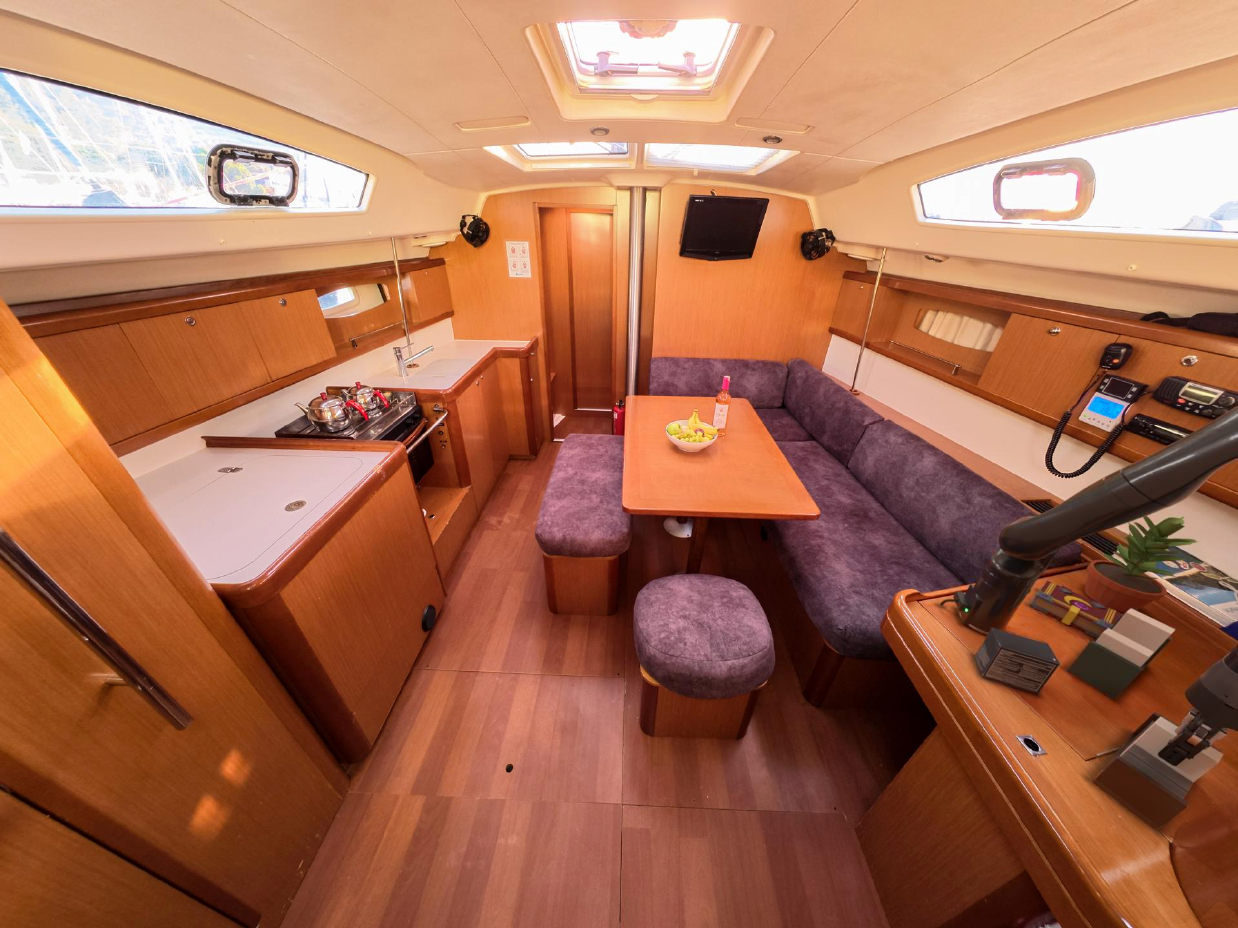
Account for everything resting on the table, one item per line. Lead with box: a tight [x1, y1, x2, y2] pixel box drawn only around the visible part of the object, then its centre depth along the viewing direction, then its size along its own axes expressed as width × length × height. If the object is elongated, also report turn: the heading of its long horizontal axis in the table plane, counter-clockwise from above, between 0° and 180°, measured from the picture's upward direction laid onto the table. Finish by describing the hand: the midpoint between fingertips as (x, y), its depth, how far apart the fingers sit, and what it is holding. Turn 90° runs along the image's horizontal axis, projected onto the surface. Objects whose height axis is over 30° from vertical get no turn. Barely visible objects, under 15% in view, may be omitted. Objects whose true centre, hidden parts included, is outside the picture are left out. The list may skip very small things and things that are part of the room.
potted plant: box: [1084, 515, 1198, 614], centre depth 111 cm, size 15×15×30 cm
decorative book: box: [1029, 580, 1122, 640], centre depth 110 cm, size 11×16×5 cm
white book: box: [1120, 717, 1224, 783], centre depth 72 cm, size 3×7×12 cm, turn 26°
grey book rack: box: [1092, 711, 1222, 831], centre depth 74 cm, size 20×8×8 cm, turn 116°
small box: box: [973, 628, 1061, 696], centre depth 92 cm, size 11×6×10 cm, turn 65°
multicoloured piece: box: [1066, 608, 1176, 700], centre depth 94 cm, size 20×8×13 cm, turn 116°
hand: (1170, 753), depth 72 cm, fingers open, 4 cm apart
